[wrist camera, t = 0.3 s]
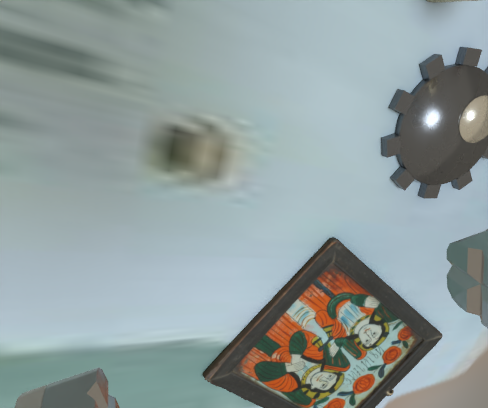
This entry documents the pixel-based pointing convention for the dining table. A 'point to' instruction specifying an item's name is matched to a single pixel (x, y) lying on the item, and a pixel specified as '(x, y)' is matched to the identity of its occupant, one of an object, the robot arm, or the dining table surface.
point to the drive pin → (447, 0)
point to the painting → (326, 340)
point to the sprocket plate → (441, 124)
